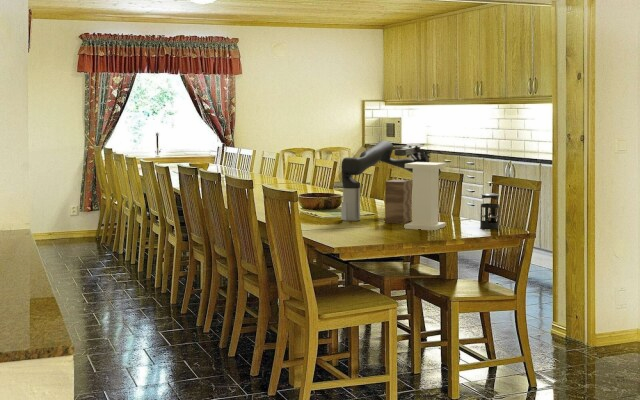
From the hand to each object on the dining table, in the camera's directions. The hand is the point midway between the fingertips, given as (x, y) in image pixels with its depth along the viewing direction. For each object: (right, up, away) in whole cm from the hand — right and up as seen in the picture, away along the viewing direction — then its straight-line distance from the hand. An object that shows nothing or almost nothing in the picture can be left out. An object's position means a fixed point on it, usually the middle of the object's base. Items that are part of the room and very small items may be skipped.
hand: (412, 147), depth 440 cm
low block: (-8, -39, -2) cm, 40 cm away
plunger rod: (-3, -4, -5) cm, 7 cm away
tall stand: (+4, -41, -23) cm, 48 cm away
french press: (+35, -42, -27) cm, 61 cm away
